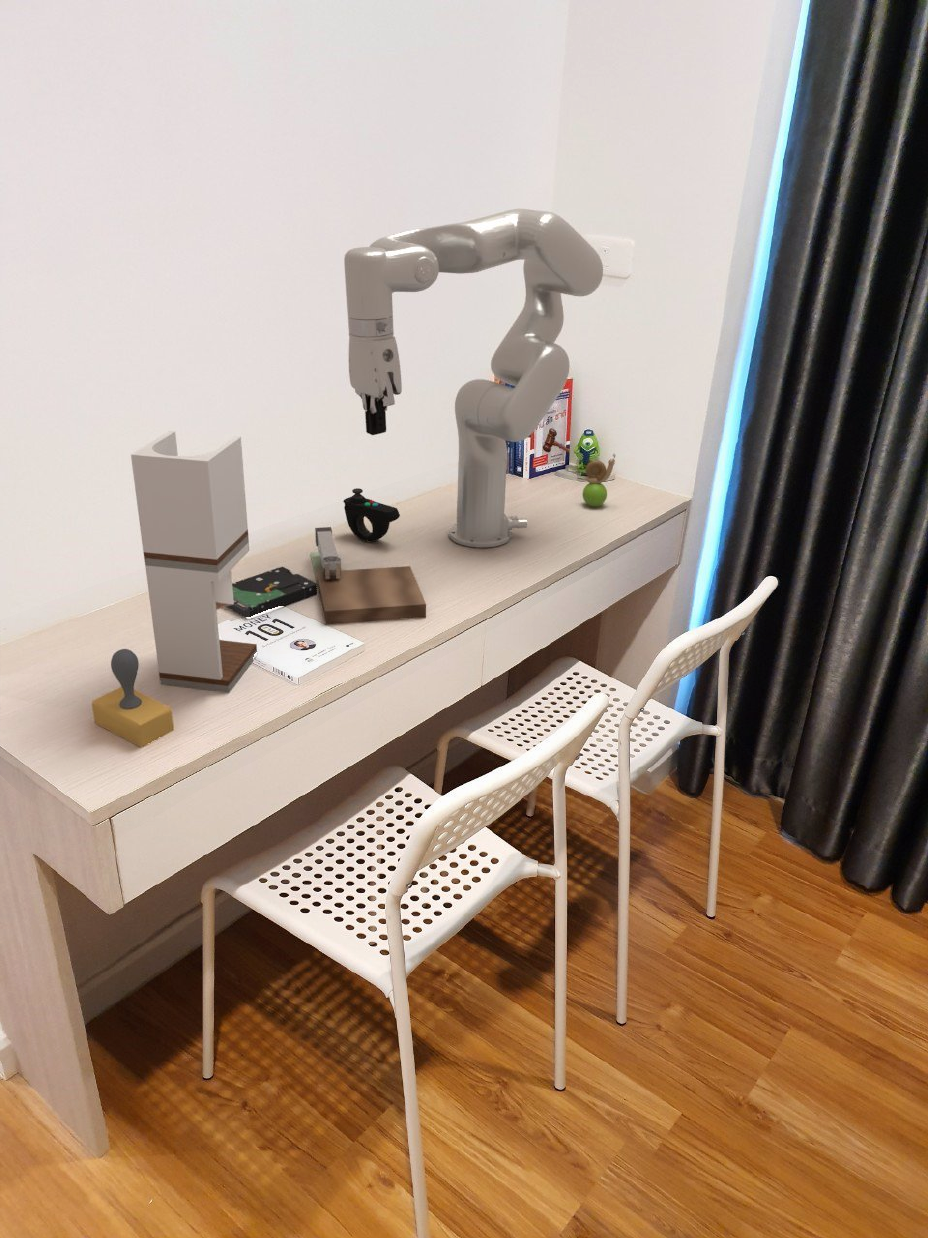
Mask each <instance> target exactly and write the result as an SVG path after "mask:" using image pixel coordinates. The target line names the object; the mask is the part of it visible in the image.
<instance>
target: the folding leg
mask: <svg viewBox="0 0 928 1238" xmlns="http://www.w3.org/2000/svg"><path fill="white" fill-rule="evenodd" d="M314 532H315V535H314V537H315V546H316V547H317V549H318V552H319V554H320V558H321V562H322V567H323V577H324V578H325V579H339V578H340V577H341V569H342V561H341V560H342V559H341V558H340V557H339V555H338V551H337V547H336V545H335V543H336V542H335V540H334V535H333V530H332V527H331V526H330V527H329V526H327V527H326V526H325V527H323V526H322V527H315V528H314Z"/></svg>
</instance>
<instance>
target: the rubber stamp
mask: <svg viewBox="0 0 928 1238" xmlns="http://www.w3.org/2000/svg"><path fill="white" fill-rule="evenodd" d="M139 663H140V662H139V658H138V656H137V655H136V653H135V652H133V651H132V650H131V649H128V648H121V649H117V650H116V651H115V652H114V653H113V655H112V657H111V661H110V667H111V668H110V669H111V671H112V674H113V675H114V677H115V678H116V680H117V682H118V683H119V685H120V686H119V687H118V688H115V689H114V690H112V691H109V692H107V693H105V694H103V695H101V696H99V697H97V698H95V699H94V700H91V707H92V708H91V709H92V714H93V718H94V719H93V720H94V724H96V725H97V726H100V727H102V728H104V729H106V730H108V731H109V732H112V733H113V734H115V735H117V736H119V737H120V738H123V739H125V740H127V741H129V742H131V743H133V744H135V745H136V746H138V747H141V748H142V747H143V748H145V747H146V745H147V744H148V743H150V744H152V743H153V742H152V741H154V740H156V741H158V740H159V739H160V738H159V737H161V738H163V737H164V736H166V735H168V734H170V733H171V732H173V731H174V730H175V729H174V728H175V726H174V719H173V710H172V707H170V706H169V705H166V704H164V703H163V702H160V701H158V700H156V699H154V698H151V696H148V695H147V694H143V693H142V692H140V691H138V690H135V689H134V688H135V687H134V686H135V683H136V679H137V676H138V672H139V666H140V664H139ZM158 738H159V739H158ZM151 742H152V743H151ZM154 742H155V741H154ZM148 745H149V744H148ZM148 745H147V746H148ZM144 746H145V747H144Z"/></svg>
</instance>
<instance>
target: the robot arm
mask: <svg viewBox="0 0 928 1238" xmlns="http://www.w3.org/2000/svg"><path fill="white" fill-rule="evenodd" d="M343 260H344V262H343V263H344V264H343V265H344V279H345V293H346V310H347V322H348V324H347V325H348V337H349V338H348V375H349V376H348V377H349V382H350V383H349V384H350V386H351V387H352V388H353V389H354V392H355V394H356V395H357V396H358V397H360V398H361V399H360V400H361V401H362V409H363V410H364V415H365V416H364V417H365V432H366V433H367V434H369V435H371V436H376V435H379V434H383V433H386V432H387V417H386V411H388V407H389V406H394V405H395V402H396V401H395V397H394V396H395V395H396V396H398V395H401V393H402V390H403V385H402V384H403V383H402V373H401V372H402V370H401V361H400V354H399V350H398V344H397V343H398V342H397V340H396V337H395V336H394V333H395V332H394V312H393V308H394V307H393V294H394V293H419V292H423V291H426V290H427V289H429V288H430V287H432V285H433V284H434V283H435V282H436V281H437V279H438V276H439V273H444V274H446V273H447V274H457V275H459V274H474V273H479V272H482V271H485V270H488V269H492V268H495V267H498V266H502V265H505V264H508V263H511V262H515V261H520V260H523V261H524V262H523V267H522V268H523V269H522V270H523V278H524V285H525V286H524V287H525V298H524V299H525V300H524V304H523V308H522V309H521V312H520V314H519V315H518V316H517V318H516V320H515V321H514V322H513V324H512V326H511V327H510V328H509V330H508V332H507V333H506V335H505V336H504V337H503V338H502V341H501V342H500V343H499V345H498V346H497V348H496V349H495V351H494V353H493V356H491V357H492V358H491V361H490V362H491V363H490V367H491V369H490V370H491V371H492V374H493V375H494V377H496V378H497V379H498V380H499V381H501V382H503V383H505V384H502V383H499V382H496V381H492V380H488V379H483V378H482V379H481V378H480V379H479V378H476V379H471V380H469V381H468V382H466V383H464V384H462V386H461V387H460V388H459V390H458V392H457V394H456V397H455V400H454V413H455V420H456V427H457V433H458V434H457V435H458V464H457V466H458V467H457V469H458V470H457V501H456V503H457V504H456V523H454V524H453V525H451V526H450V527H449V529H448V536H449V539H451V541H453V542H454V543H456V544H458V545H462V546H464V547H470V548H482V549H484V548H494V547H498V546H502V545H504V544H506V543H508V542H509V541H510V540H511V532H512V529H526V528H527V526H528V521H527V518H518V515H510V516H507V515H506V514H505V505H506V501H505V500H506V484H507V483H506V482H507V465H508V449H507V447H508V446H507V443H506V441H507V442H511V443H513V442H514V443H517V442H522V441H525V440H526V439H528V438H529V437H530V435H532V434H533V433H534V432H535V430H536V429H537V427H538V426H539V425H540V424H541V422H542V421H543V419H544V417H545V416H546V415H547V413H548V412H549V410H550V408H551V407H552V406H553V404H554V403H555V402H556V400H557V398H558V397H559V395H560V394H561V392H562V391H563V389H564V387H565V386H566V383H567V381H568V377H569V373H570V358H569V355H568V353H567V352H566V350H565V349H564V348H563V347H562V346H561V345H559V344H557V343H555V342H556V340H557V339H558V337H559V335H560V334H561V331H562V329H563V325H564V317H565V316H564V307H563V300H562V294H563V295H567V296H574V297H587V296H589V295H591V294H593V293H594V292H595V291H597V289H598V288H599V286H601V285H600V284H602V280H603V276H604V267H603V266H604V264H603V262H602V261H603V260H602V259H601V256H600V254H599V253H598V251H597V250H596V249H595V248H594V247H593V246H592V245H591V244H590V243H589V242H588V241H587V240H586V239H585V238H584V237H583V236H582V235H581V234H580V233H579V232H578V231H577V229H575V228H574V227H573V226H572V225H571V224H570V223H569V222H568V221H566V220H565V219H564V218H563V217H561V216H560V215H558V214H556V213H554V212H550V211H543V210H535V209H529V208H528V209H526V208H514V209H509V210H506V211H502V212H497V213H494V214H491V215H486V216H483V217H479V218H476V219H473V220H467V221H464V222H456V223H449V224H443V225H439V226H438V225H437V226H432V227H426V228H417V229H412V230H406V231H402V232H399V233H395V234H391V235H388V236H384V237H381V238H379V239H377V240H374V242H372V243H371V244H370V245H369V246H363V247H362V246H361V247H356V248H355V247H354V248H351V249H348V250H347V251H346V253H345V255H344V259H343ZM506 384H507V385H506ZM508 385H511V386H513V387H511V386H508Z"/></svg>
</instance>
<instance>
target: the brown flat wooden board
mask: <svg viewBox="0 0 928 1238" xmlns="http://www.w3.org/2000/svg"><path fill="white" fill-rule="evenodd" d="M310 557H311V562H312V568H313V571H314V576H315V581H316V582H315V583H317V593H318V596H319V600H320V605H321V610H322V616H323V619H324V624H325V625H340V624H353V623H354V624H355V623H369V622H382V621H393V620H395V621H397V620H406V619H407V620H408V619H409V620H411V619H422V618H426V617H427V603H426V600H425V598H424V596H423V593H422V591H421V590H420V586H419V584H418V581H417V579H416V577H415V575H414V572H413V570H412V568H411V566H410V565H408V566H407V565H405V566H391V567H388V566H387V567H375V568H359V569H358V568H356V569H342V568H341V577H340V578H339V579H325V578H324V577H323V567H322V562H321V558H320V554H319V551H312V552H310Z"/></svg>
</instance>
